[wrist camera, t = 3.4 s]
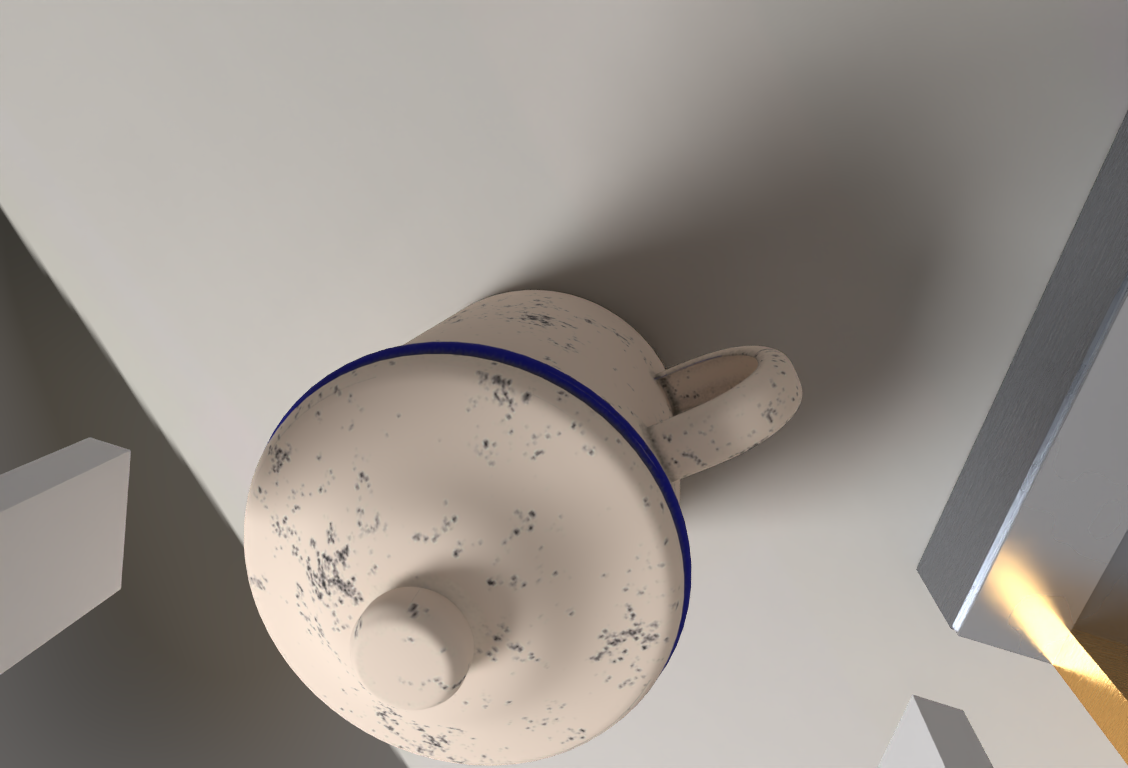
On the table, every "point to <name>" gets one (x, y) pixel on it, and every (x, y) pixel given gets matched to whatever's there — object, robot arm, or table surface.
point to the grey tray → (1055, 478)
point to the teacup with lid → (496, 523)
